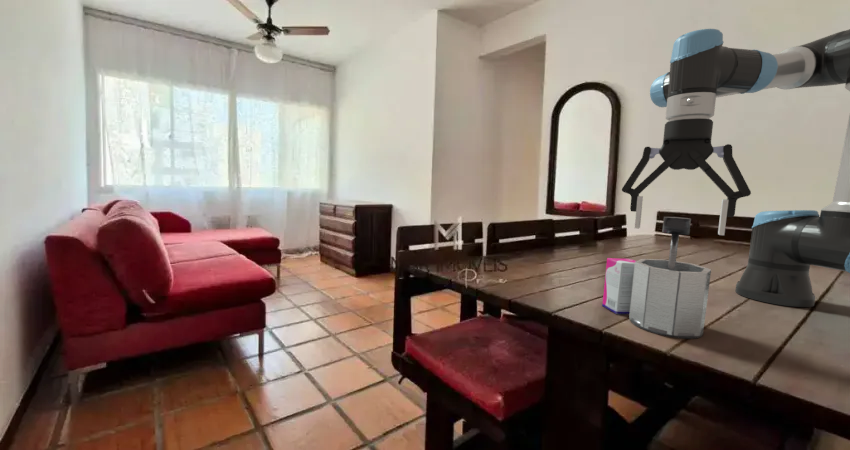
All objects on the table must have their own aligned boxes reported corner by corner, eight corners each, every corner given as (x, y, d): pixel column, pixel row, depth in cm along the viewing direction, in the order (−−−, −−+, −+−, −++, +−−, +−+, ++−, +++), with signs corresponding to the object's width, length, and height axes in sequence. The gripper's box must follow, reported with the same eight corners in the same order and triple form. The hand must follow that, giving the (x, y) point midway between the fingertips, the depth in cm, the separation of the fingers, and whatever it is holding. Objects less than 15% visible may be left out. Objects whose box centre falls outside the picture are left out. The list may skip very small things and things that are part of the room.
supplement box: (641, 314, 81) (646, 263, 80) (616, 314, 80) (620, 263, 79) (625, 305, 87) (629, 257, 85) (601, 305, 86) (605, 257, 85)
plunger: (671, 312, 78) (682, 216, 76) (698, 326, 71) (711, 220, 68) (636, 311, 78) (646, 215, 76) (658, 325, 71) (670, 219, 68)
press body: (666, 311, 84) (672, 257, 82) (719, 339, 69) (728, 274, 67) (611, 309, 84) (617, 255, 82) (653, 337, 69) (660, 272, 67)
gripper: (612, 121, 74) (604, 227, 77) (783, 111, 60) (765, 240, 62) (618, 126, 80) (609, 223, 83) (773, 118, 66) (758, 235, 69)
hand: (676, 231), depth 73 cm, fingers open, 13 cm apart
